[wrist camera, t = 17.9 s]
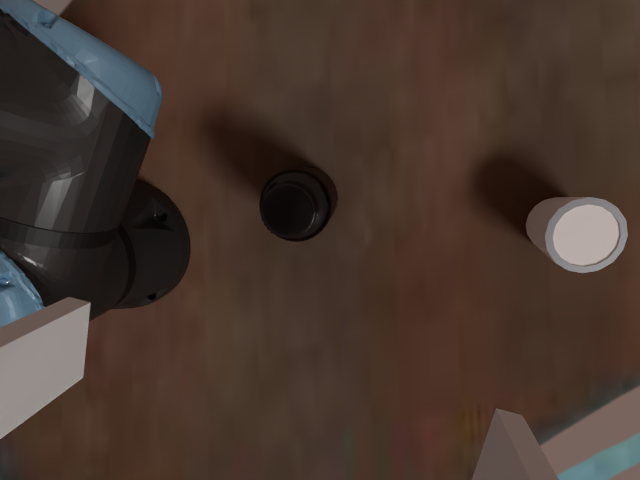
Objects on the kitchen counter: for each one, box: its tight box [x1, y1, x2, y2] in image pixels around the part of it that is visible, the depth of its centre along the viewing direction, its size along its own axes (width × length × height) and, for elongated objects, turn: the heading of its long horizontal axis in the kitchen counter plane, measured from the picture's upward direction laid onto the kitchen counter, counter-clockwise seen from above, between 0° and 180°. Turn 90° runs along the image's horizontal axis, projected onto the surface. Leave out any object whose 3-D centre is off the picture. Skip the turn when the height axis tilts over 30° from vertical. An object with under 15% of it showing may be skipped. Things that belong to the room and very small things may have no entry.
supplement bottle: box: [259, 167, 338, 242], centre depth 41 cm, size 7×7×12 cm
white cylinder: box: [526, 197, 628, 273], centre depth 41 cm, size 7×7×7 cm
